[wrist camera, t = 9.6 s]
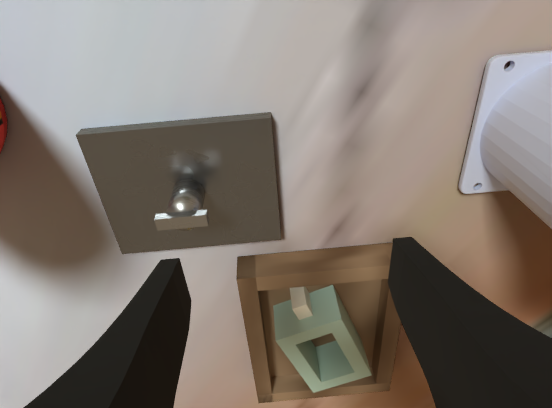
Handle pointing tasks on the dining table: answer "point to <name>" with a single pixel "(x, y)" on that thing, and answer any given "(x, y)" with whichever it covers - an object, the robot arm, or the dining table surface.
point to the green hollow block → (315, 323)
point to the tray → (364, 315)
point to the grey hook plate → (186, 181)
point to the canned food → (2, 125)
